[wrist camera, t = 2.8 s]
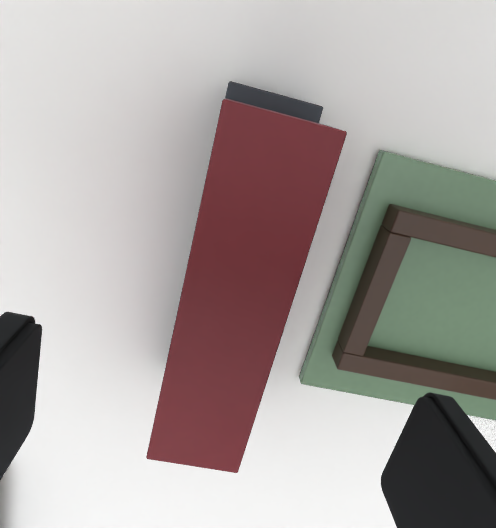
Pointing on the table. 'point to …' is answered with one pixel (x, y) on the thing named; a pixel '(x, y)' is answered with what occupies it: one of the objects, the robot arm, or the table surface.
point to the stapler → (242, 273)
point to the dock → (414, 291)
